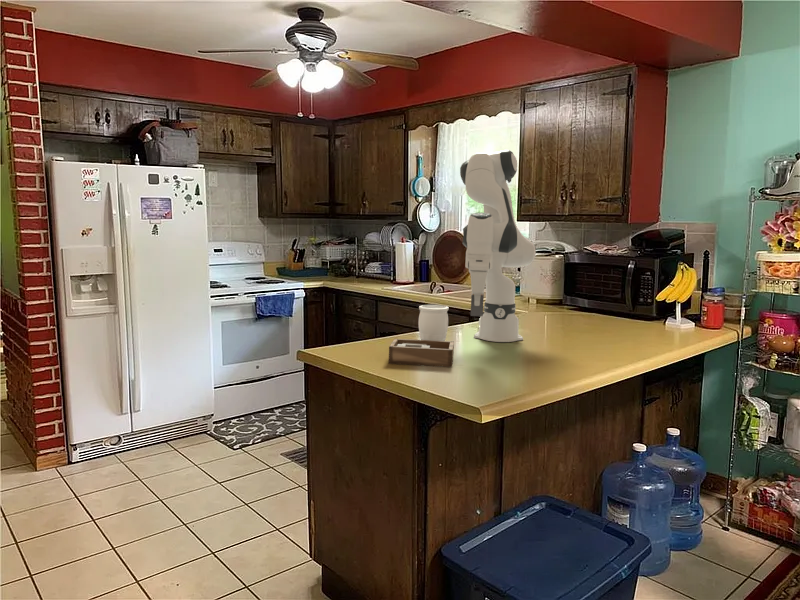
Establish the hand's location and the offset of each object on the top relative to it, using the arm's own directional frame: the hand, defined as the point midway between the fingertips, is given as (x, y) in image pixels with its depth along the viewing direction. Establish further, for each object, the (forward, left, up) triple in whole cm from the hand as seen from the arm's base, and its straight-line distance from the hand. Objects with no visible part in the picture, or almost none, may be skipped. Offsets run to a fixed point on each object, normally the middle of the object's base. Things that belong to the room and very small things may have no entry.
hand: (476, 304), depth 201 cm
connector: (0, 0, -4) cm, 4 cm away
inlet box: (+8, -17, -18) cm, 26 cm away
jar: (-12, -15, -18) cm, 27 cm away
